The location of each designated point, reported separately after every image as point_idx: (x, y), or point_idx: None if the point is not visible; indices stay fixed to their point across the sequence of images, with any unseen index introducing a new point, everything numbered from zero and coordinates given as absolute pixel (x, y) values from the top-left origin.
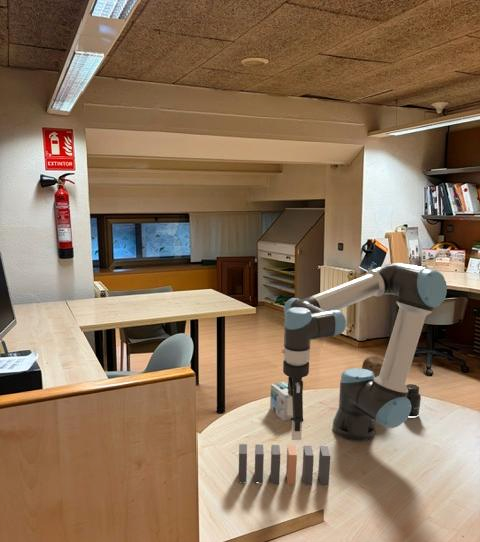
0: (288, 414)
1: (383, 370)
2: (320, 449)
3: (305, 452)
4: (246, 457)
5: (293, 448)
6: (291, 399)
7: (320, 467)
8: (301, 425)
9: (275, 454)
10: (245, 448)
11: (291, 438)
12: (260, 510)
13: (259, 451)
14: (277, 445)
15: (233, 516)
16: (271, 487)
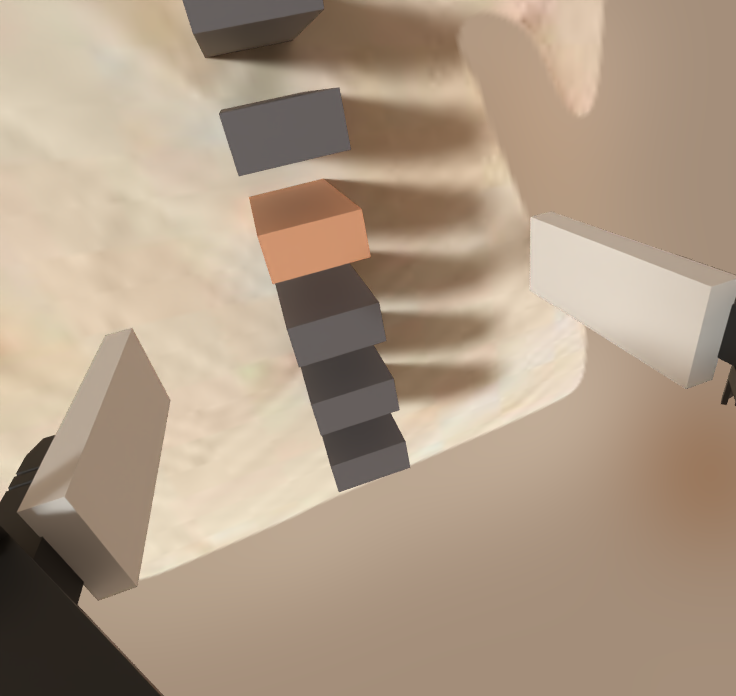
0: (166, 398)
1: None
2: (228, 28)
3: (319, 154)
4: (398, 430)
5: (297, 241)
6: (123, 510)
7: (264, 36)
8: (666, 254)
9: (382, 326)
10: (366, 460)
11: (530, 290)
12: (486, 284)
13: (375, 402)
14: (296, 337)
15: (515, 351)
16: (366, 275)
